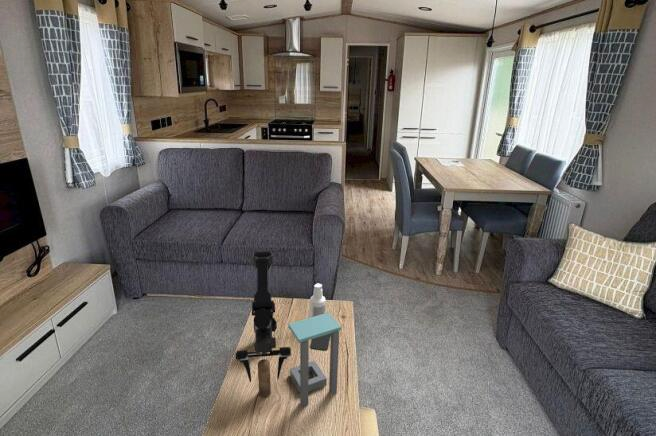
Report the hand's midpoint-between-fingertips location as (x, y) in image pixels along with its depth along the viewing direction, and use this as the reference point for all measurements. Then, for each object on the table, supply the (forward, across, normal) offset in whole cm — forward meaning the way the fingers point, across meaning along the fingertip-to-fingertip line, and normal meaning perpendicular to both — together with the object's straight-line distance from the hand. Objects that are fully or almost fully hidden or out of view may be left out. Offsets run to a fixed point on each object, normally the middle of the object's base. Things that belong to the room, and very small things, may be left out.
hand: (264, 380), depth 128 cm
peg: (+4, 0, +6) cm, 7 cm away
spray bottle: (-24, +23, +34) cm, 48 cm away
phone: (-15, +24, +25) cm, 38 cm away
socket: (+1, +15, +9) cm, 18 cm away
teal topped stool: (+4, +17, +5) cm, 18 cm away
